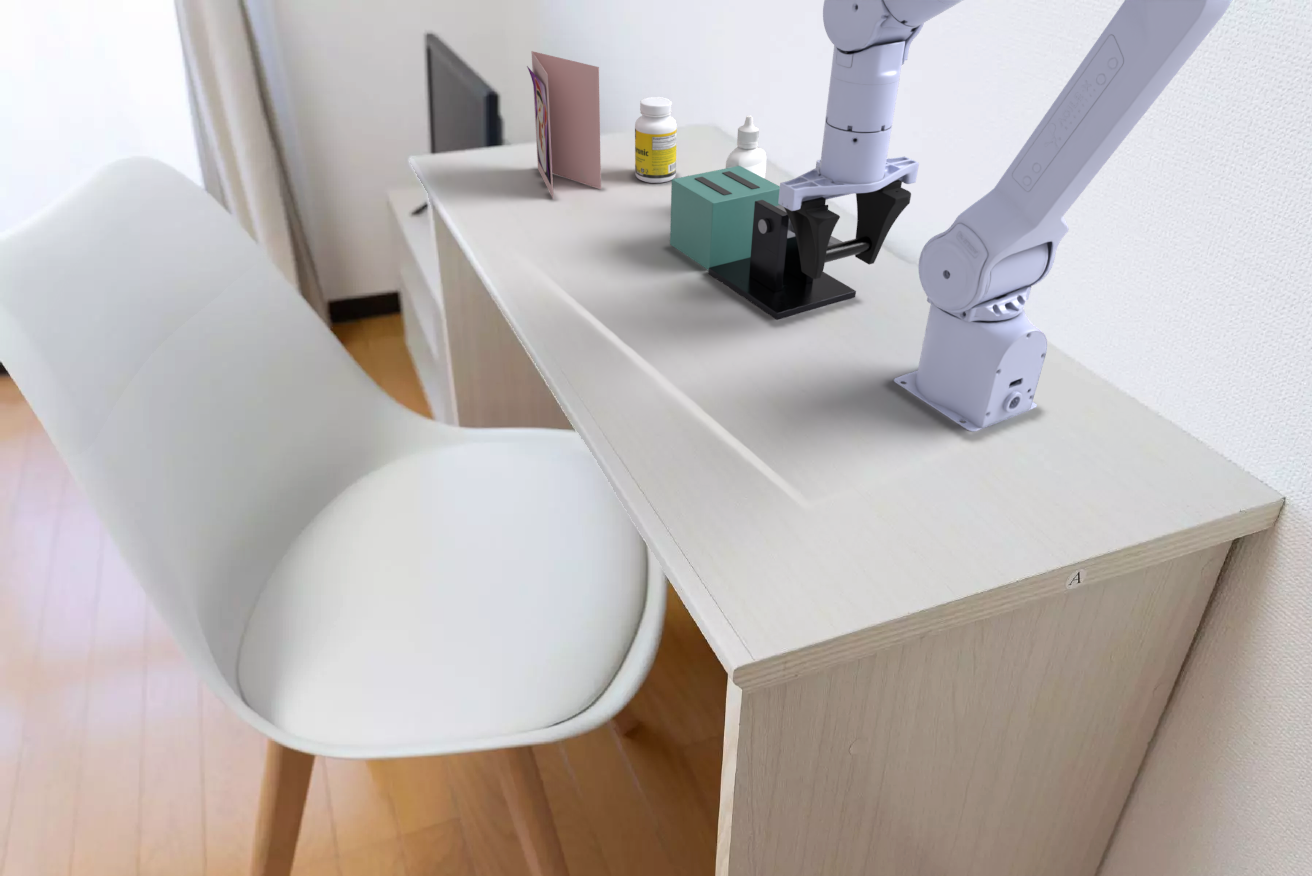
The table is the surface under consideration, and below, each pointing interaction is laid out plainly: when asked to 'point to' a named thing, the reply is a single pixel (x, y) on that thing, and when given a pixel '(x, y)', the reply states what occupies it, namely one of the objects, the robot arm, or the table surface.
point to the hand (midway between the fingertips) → (838, 267)
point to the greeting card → (566, 119)
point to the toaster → (717, 214)
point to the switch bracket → (778, 270)
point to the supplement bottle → (655, 141)
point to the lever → (838, 244)
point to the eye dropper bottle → (748, 150)
